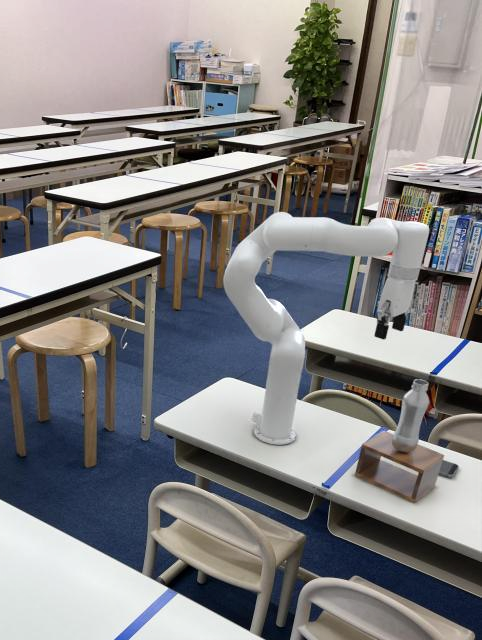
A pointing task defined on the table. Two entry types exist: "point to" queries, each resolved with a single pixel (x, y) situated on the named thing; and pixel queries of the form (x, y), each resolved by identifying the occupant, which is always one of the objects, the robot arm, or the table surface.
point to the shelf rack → (394, 476)
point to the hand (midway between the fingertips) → (388, 333)
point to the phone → (448, 469)
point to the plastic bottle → (411, 417)
